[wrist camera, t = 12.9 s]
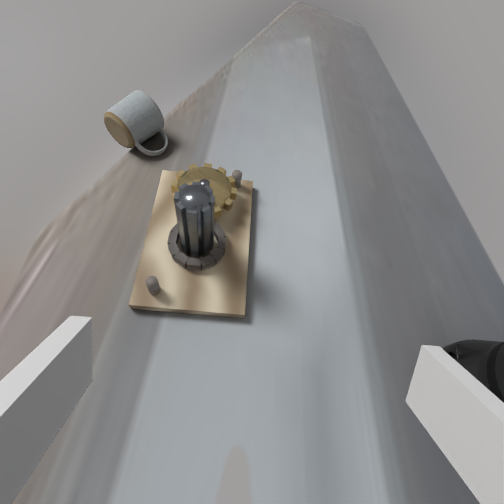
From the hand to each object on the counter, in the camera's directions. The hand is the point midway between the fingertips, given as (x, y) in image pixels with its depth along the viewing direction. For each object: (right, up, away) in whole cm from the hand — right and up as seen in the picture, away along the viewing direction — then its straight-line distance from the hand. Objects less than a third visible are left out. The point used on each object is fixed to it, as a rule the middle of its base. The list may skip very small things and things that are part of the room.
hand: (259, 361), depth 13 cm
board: (-9, +6, +39) cm, 41 cm away
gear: (-8, +13, +41) cm, 44 cm away
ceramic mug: (-21, +26, +49) cm, 59 cm away
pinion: (-9, +5, +37) cm, 38 cm away
